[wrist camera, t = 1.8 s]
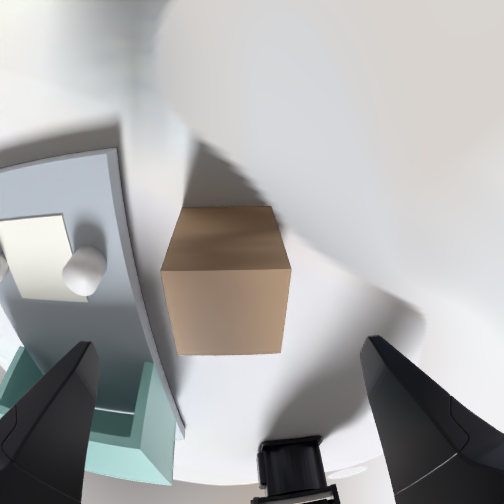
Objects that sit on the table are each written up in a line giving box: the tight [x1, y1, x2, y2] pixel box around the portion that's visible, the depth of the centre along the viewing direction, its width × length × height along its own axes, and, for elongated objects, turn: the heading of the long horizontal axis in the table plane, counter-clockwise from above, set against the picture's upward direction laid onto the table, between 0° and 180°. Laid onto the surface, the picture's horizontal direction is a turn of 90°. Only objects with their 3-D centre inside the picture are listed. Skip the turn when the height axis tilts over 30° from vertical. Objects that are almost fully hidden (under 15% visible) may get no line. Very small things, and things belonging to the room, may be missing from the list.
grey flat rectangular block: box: [0, 147, 185, 440], centre depth 16 cm, size 10×25×3 cm, turn 179°
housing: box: [0, 346, 176, 485], centre depth 15 cm, size 11×8×6 cm
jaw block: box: [161, 206, 291, 355], centre depth 12 cm, size 4×4×5 cm
